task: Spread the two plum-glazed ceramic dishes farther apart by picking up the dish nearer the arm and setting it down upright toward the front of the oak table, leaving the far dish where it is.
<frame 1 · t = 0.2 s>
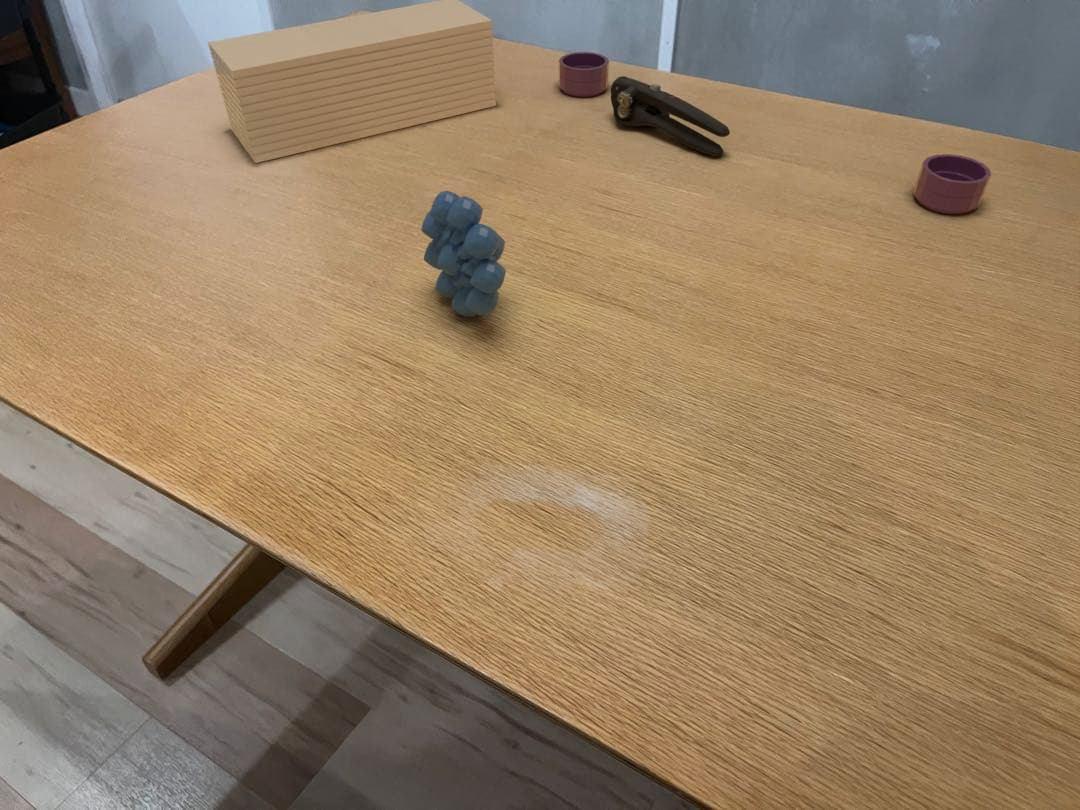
can opener: (666, 136, 101), on the table
plum dish a: (944, 201, 88), on the table
plum dish b: (583, 88, 112), on the table
grapes: (476, 312, 74), on the table
tan ribbed wooden block: (367, 119, 106), on the table
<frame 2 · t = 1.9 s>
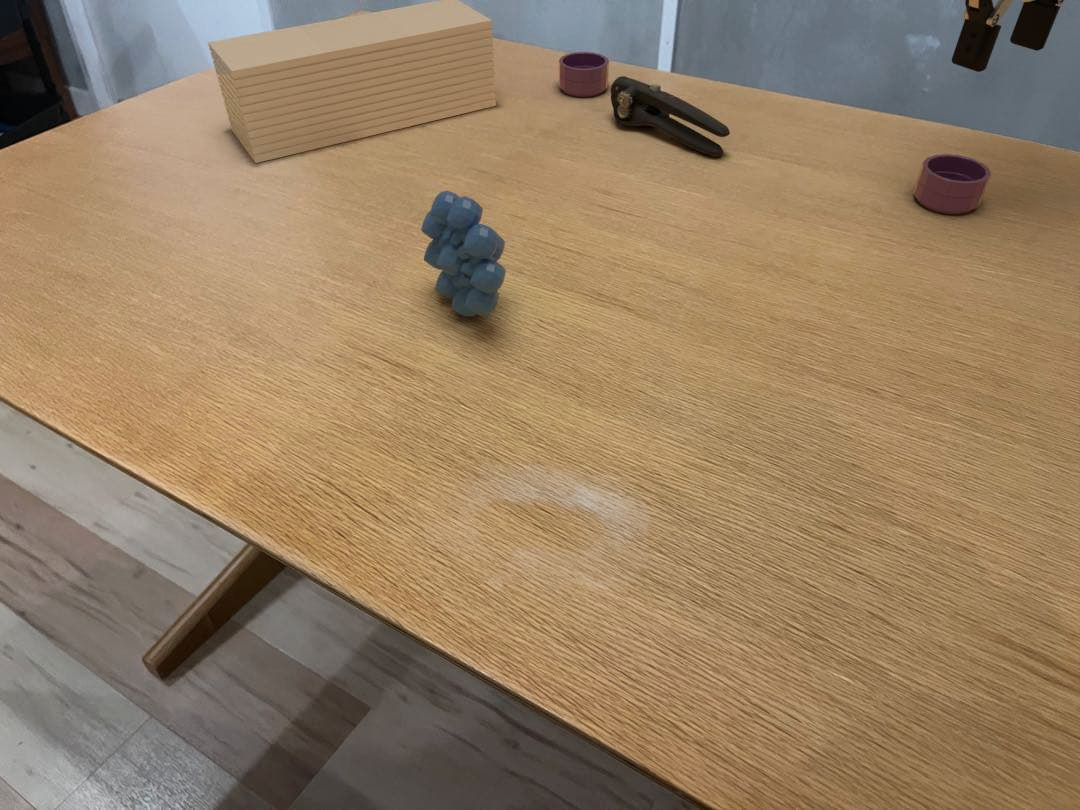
hand: (997, 56, 78), 15 cm above the table, tool pointing down, fingers open, 9 cm apart
nothing on the table moved.
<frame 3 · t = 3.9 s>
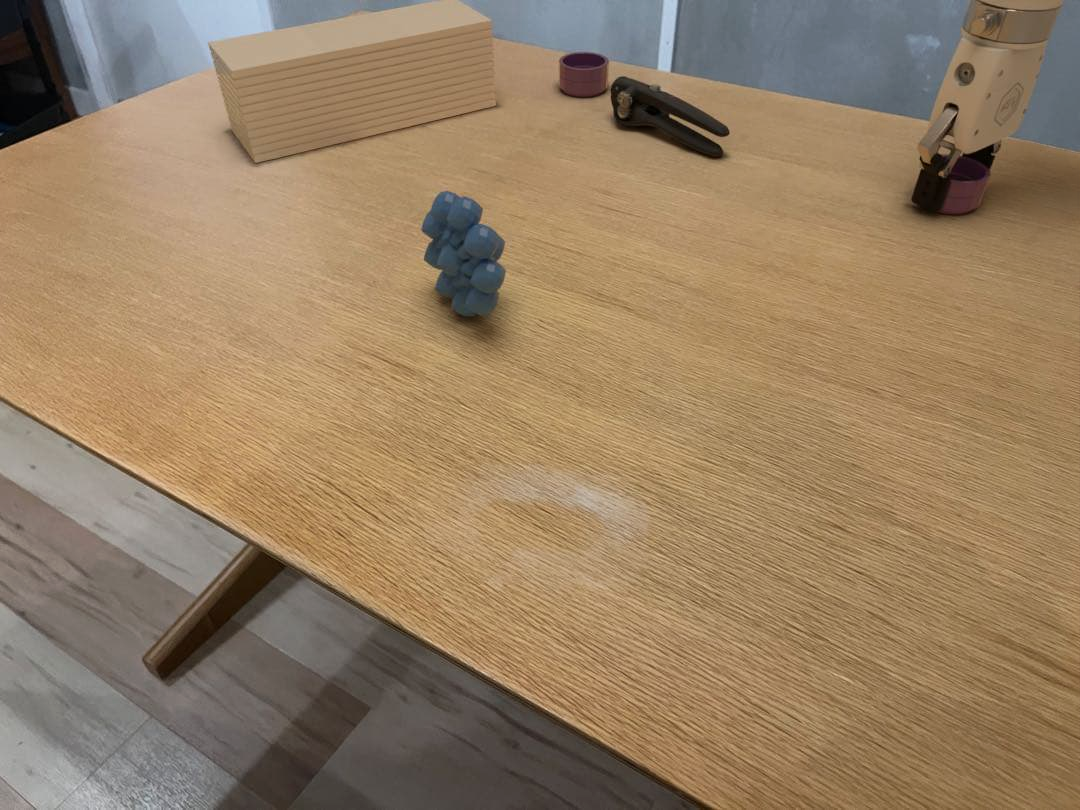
hand: (947, 194, 88), 1 cm above the table, tool pointing down, fingers closed on plum dish a, 6 cm apart
plum dish a: (944, 201, 88), on the table, touching gripper
everything else where it was.
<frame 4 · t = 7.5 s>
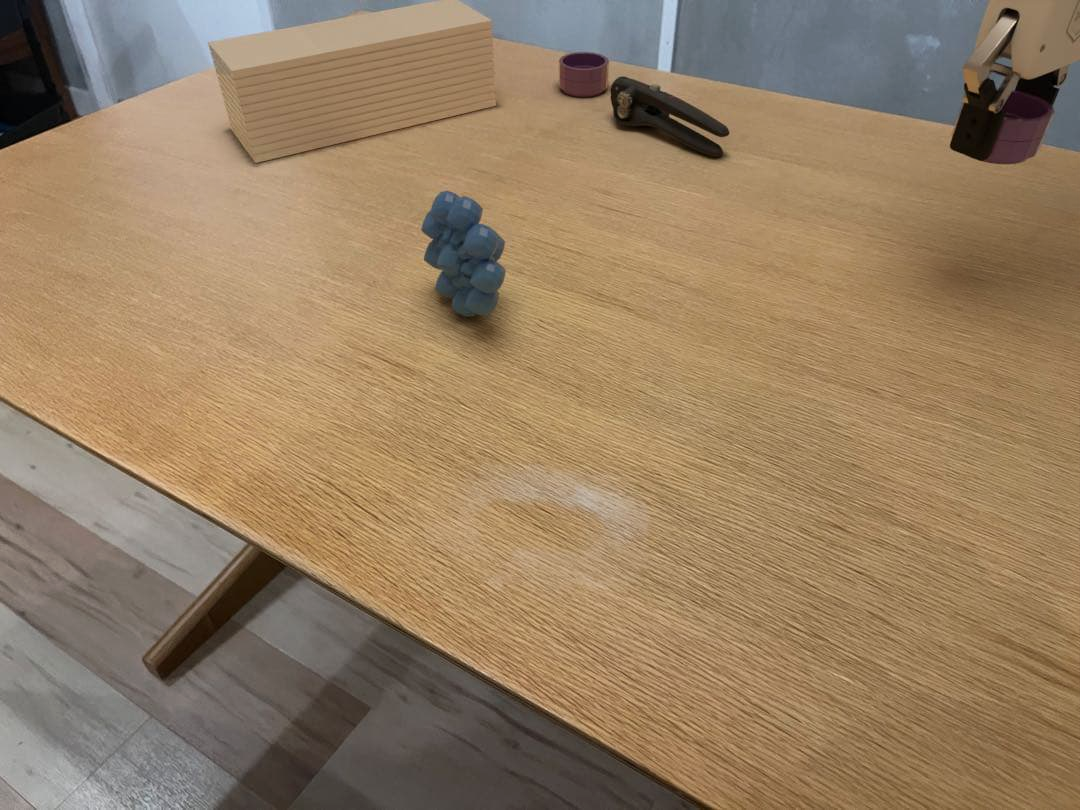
hand: (995, 140, 68), 14 cm above the table, tool pointing down, fingers closed on plum dish a, 6 cm apart
plum dish a: (991, 149, 68), point 13 cm above the table, touching gripper
everything else where it was.
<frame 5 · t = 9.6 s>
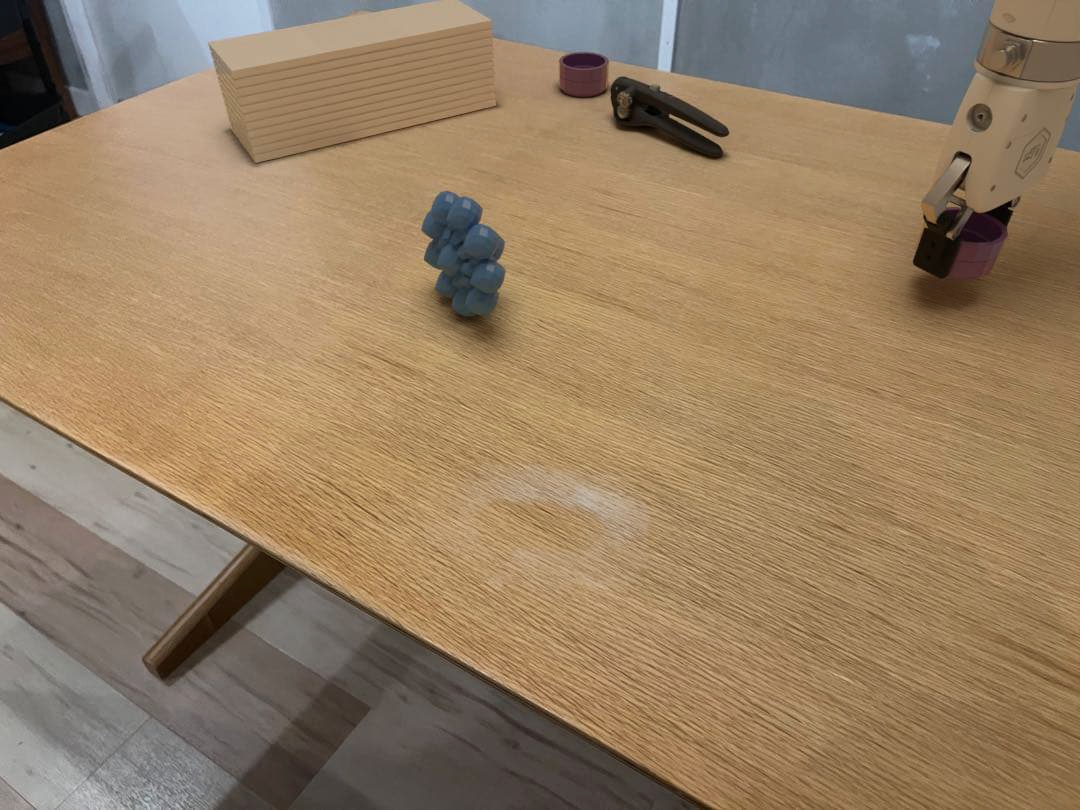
hand: (955, 255, 73), 4 cm above the table, tool pointing down, fingers closed on plum dish a, 6 cm apart
plum dish a: (952, 263, 74), point 3 cm above the table, touching gripper
everything else where it was.
when the fingers open (1 cm above the table, at t = 11.0 s): plum dish a stays where it is, on the table.
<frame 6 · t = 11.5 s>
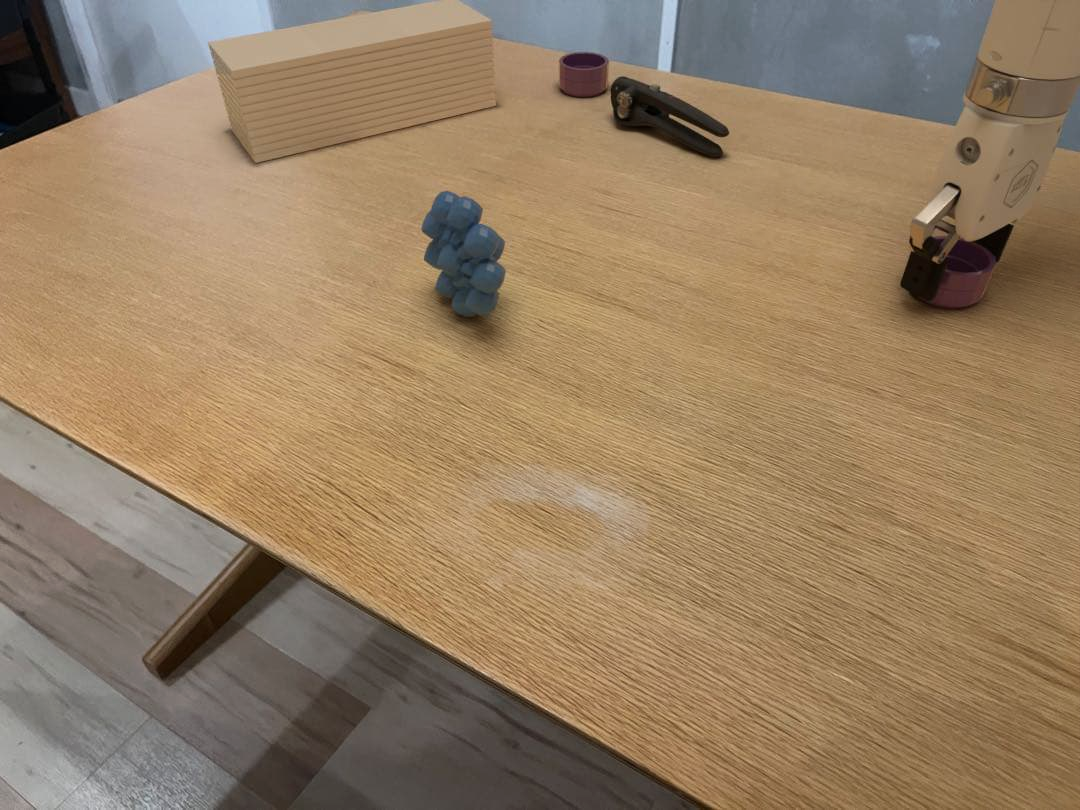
hand: (949, 274, 75), 2 cm above the table, tool pointing down, fingers open, 9 cm apart
plum dish a: (942, 290, 76), on the table
everything else where it was.
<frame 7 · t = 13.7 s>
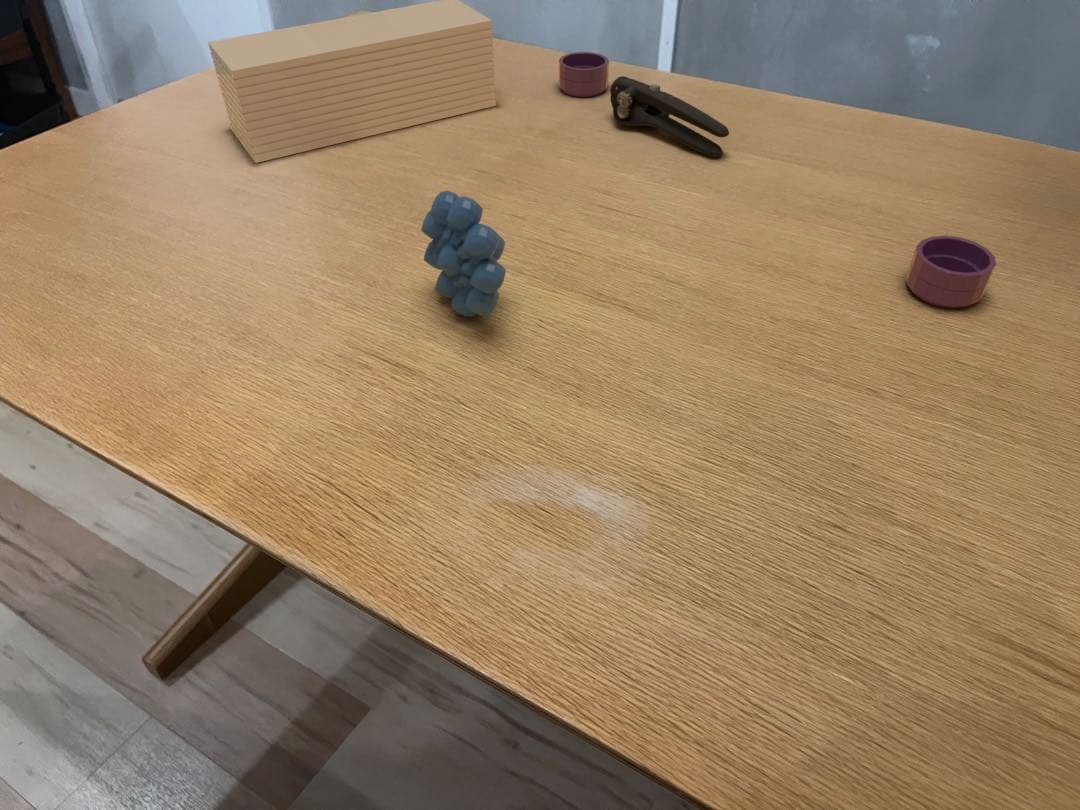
nothing on the table moved.
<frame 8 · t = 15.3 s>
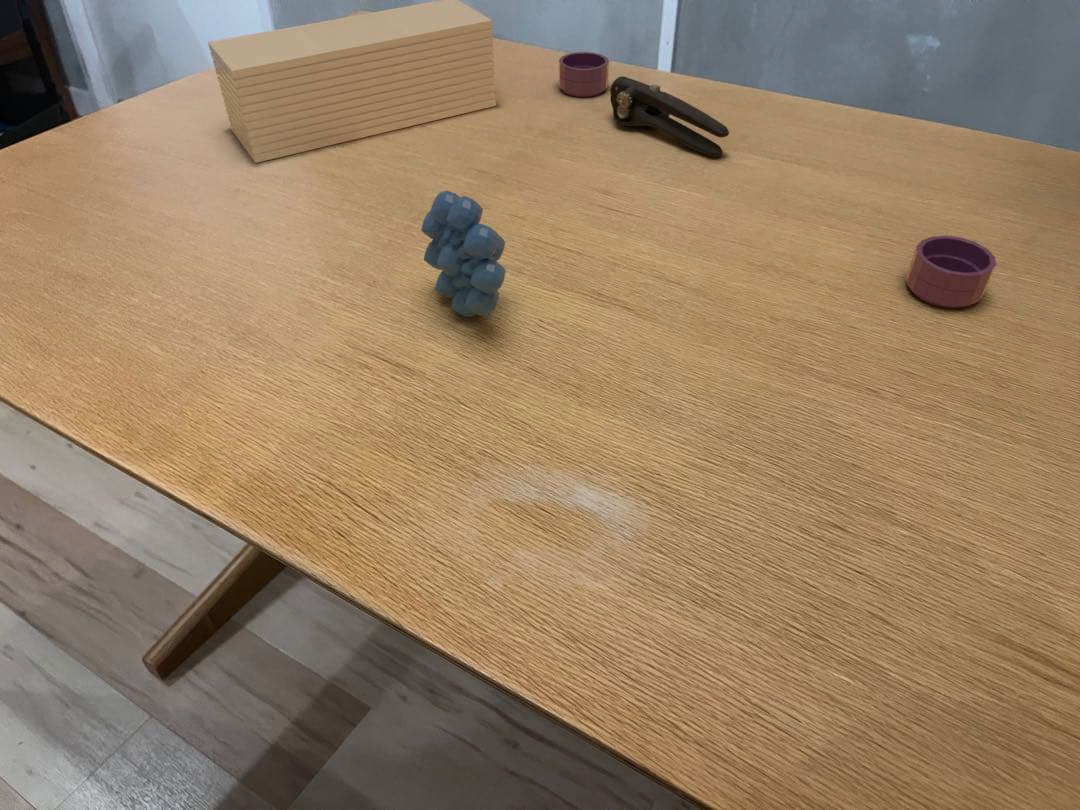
nothing on the table moved.
at the end: plum dish a inside the target area (0.0 cm from its centre), on the table; plum dish a tilted 0°; plum dish b moved 0.0 cm from its start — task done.
